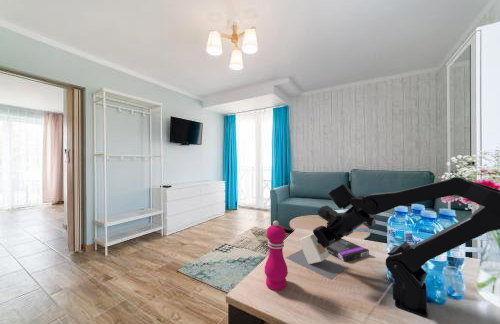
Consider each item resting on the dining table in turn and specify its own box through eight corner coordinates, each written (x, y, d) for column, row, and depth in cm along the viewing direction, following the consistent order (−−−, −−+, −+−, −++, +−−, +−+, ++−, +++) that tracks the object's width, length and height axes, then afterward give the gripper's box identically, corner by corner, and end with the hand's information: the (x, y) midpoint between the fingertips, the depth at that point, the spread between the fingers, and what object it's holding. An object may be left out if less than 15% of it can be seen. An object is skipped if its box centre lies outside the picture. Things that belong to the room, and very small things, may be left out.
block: (330, 255, 72) (318, 231, 76) (321, 261, 68) (309, 235, 72) (317, 259, 76) (307, 235, 80) (308, 264, 72) (298, 239, 76)
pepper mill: (274, 295, 56) (274, 225, 56) (259, 282, 62) (259, 219, 62) (292, 286, 60) (292, 221, 60) (277, 275, 66) (276, 216, 66)
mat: (346, 268, 70) (346, 267, 70) (331, 280, 63) (331, 279, 63) (301, 250, 84) (301, 249, 84) (285, 258, 77) (285, 257, 77)
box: (369, 258, 79) (331, 239, 97) (369, 249, 79) (331, 232, 97) (344, 265, 74) (309, 244, 92) (345, 256, 74) (309, 236, 92)
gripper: (345, 196, 74) (318, 218, 83) (319, 203, 62) (290, 228, 71) (367, 223, 68) (335, 243, 77) (343, 236, 56) (309, 258, 65)
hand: (318, 242), depth 72 cm, fingers closed
